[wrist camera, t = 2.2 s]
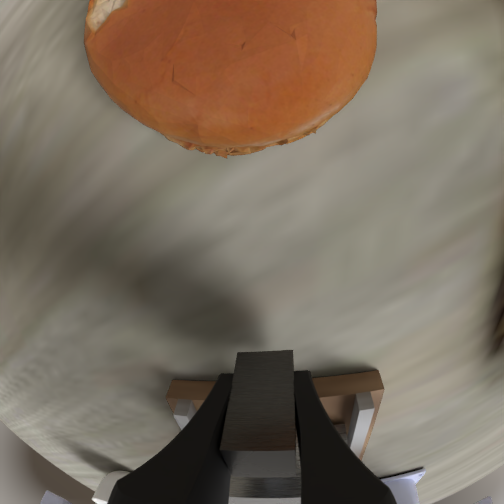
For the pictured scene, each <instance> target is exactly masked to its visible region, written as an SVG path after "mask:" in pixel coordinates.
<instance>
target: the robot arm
mask: <svg viewBox="0 0 504 504" xmlns="http://www.w3.org/2000/svg"><path fill="white" fill-rule="evenodd" d="M233 375H234V374H220V375H219V377H218V379H217V381H216V383H215V384H214V386H213V388H212V389H211V391H210V393H209V394H208V396H207V397H206V399H205V400H204V402H203V403H202V405H201V406H200V408H199V409H198V411H197V412H196V413H195V415H194V416H193V417H192V418H191V420H190V421H189V422H188V423H187V425H186V426H185V427H184V428H183V429H182V431H181V432H180V433H179V434H178V435H177V436H176V437H175V438H174V439H173V440H172V441H171V442H170V443H169V444H168V445H167V446H166V447H165V448H163V449H162V450H161V451H160V452H159V453H158V454H157V455H155V456H154V457H153V458H151V459H150V460H149V461H147V462H146V463H145V464H143V465H142V466H140V467H139V468H137V469H136V470H134V471H132V472H131V473H129V474H127V475H126V476H124V477H122V478H120V479H118V480H117V481H116V483H115V485H114V487H113V489H112V492H111V494H110V497H109V500H108V503H107V504H228V503H229V490H230V479H231V473H230V471H229V469H228V466H227V464H226V462H225V460H224V458H223V456H222V454H221V452H220V446H221V440H222V435H223V429H224V424H225V418H226V413H227V408H228V402H229V397H230V391H231V388H232V380H233ZM293 382H294V395H295V419H296V432H297V440H298V448H299V457H300V467H301V504H420V503H419V498H418V494H417V489H416V485H415V484H416V483H417V482H418V481H419V480H420V478H421V477H422V476H423V475H424V474H425V472H426V469H421V470H417V471H414V472H410V473H406V474H402V475H398V476H394V477H390V478H385V479H379V478H378V477H376V476H375V475H374V474H373V473H372V472H371V471H370V470H369V469H368V468H367V467H366V466H365V465H364V464H363V463H362V461H361V460H360V459H359V458H358V457H357V456H356V455H355V454H354V452H353V451H352V450H351V449H350V447H349V446H348V445H347V444H346V442H345V441H344V440H343V438H342V437H341V435H340V434H339V432H338V431H337V429H336V428H335V426H334V425H333V423H332V421H331V420H330V418H329V416H328V414H327V412H326V411H325V409H324V407H323V405H322V403H321V401H320V398H319V396H318V394H317V391H316V389H315V386H314V383H313V380H312V377H311V372H310V371H308V370H305V371H294V380H293ZM40 504H72V503H70V502H69V501H67V500H65V499H63V498H61V497H60V496H58V495H55V494H54V493H52V492H50V491H46V492H45V495H44V496H43V499H42V501H41V503H40ZM474 504H493V503H492V499H491V497H490V496H488V497H486V498H484V499H482V500H480V501H478V502H476V503H474Z"/></svg>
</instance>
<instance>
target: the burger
mask: <svg viewBox="0 0 504 504" xmlns="http://www.w3.org/2000/svg"><path fill="white" fill-rule="evenodd" d="M376 15H377V6H376V0H90V2H89V7H88V13H87V17H86V22H85V34H84V45H85V49H86V53H87V57H88V61H89V65H90V68H91V71H92V73H93V74H94V76H95V78H96V79H97V81H98V82H99V83H100V85H101V86H102V87H103V89H104V90H105V91H106V93H107V94H108V95H109V97H110V98H111V99H112V100H113V101H114V102H115V103H116V104H117V105H118V106H119V107H120V108H121V109H122V110H124V111H125V112H126V113H128V114H129V115H131V116H132V117H134V118H135V119H136V120H138V121H139V122H141V123H142V124H143V125H145V126H147V127H150V128H152V129H154V130H156V131H158V132H160V133H161V134H162V135H164V136H165V137H166V138H167V139H168V140H170V141H173V142H175V143H178V144H179V145H181V146H182V147H184V148H186V149H187V150H194V149H197V150H199V151H201V152H205V154H212V153H215V154H216V156H222V157H224V158H227V155H233V156H234V155H245V154H250V153H254V152H257V151H260V150H263V149H265V148H266V147H269V146H274V145H283V144H288V143H291V142H294V141H296V140H299V139H301V138H303V137H305V136H307V135H309V134H310V133H315V134H316V130H317V129H318V128H319V127H321V126H322V125H324V124H325V123H326V122H327V121H328V120H329V119H330V118H331V117H332V116H333V115H335V114H336V113H338V112H339V111H340V110H341V109H342V108H343V107H344V106H345V105H346V104H347V103H348V102H349V101H350V100H352V99H353V97H354V96H355V94H356V93H357V92H358V90H359V89H360V87H361V86H362V84H363V83H364V82H365V80H366V79H367V77H368V75H369V72H370V69H371V66H372V63H373V60H374V56H375V51H376V46H377V25H376V22H375V19H376Z"/></svg>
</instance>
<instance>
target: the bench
mask: <svg viewBox="0 0 504 504" xmlns="http://www.w3.org/2000/svg"><path fill="white" fill-rule="evenodd" d="M312 380H313V383H314V386H315V389H316V391H317V394H318V396H319V398H320V401H321V403H322V405H323V407H324V409H325V411H326V412H327V414H328V416H329V418H330V420H331V421H332V423H333V425H340V424H345V428H346V435H347V442H348V446H349V447H350V449H351V450H352V451H353V452H354V454H355V455H356V456H357V457H358V458H359V459H360V460H362V457H363V455H364V452H365V449H366V446H367V444H368V441H369V438H370V435H371V432H372V429H373V426H374V423H375V420H376V416H377V413H378V410H379V406H380V403H381V400H382V396H383V392H384V386H383V383H382V380H381V377H380V374H379V371H378V370H375V371H369V372H362V373H354V374H346V375H338V376H329V377H318V378H312ZM215 383H216V381H189V380H172V382H171V385H170V387H169V390H168V393H167V395H166V400H167V402H168V404H169V406H170V408H171V410H172V412H173V416H174V418H175V420H176V421H177V423H178V425H179V427H180V429H181V431H182V429H183V428H184V427H185V426H186V425H187V423H188V422H189V421H190V420H191V418H192V417H193V416H194V415H195V413H196V412H197V411H198V409H199V408H200V406H201V405H202V403H203V402H204V400H205V399H206V397H207V396H208V394H209V393H210V391H211V389H212V388H213V386H214V384H215Z"/></svg>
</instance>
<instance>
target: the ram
mask: <svg viewBox="0 0 504 504" xmlns="http://www.w3.org/2000/svg"><path fill="white" fill-rule="evenodd" d="M293 380H294V360H293V350H283V351H264V352H238V353H237V358H236V364H235V369H234V375H233V380H232V388H231V391H230V397H229V402H228V408H227V413H226V418H225V424H224V429H223V435H222V440H221V446H220V452H221V454H222V456H223V458H224V460H225V462H226V464H227V466H228V469H229V471H230V473H231V479H230V490H229V503H228V504H301V467H300V457H299V448H298V440H297V432H296V419H295V395H294V382H293ZM334 426H335V428H336V429H337V431H338V432H339V434H340V435H341V437H342V438H343V440H344V441H345V442H346V444H347V445H348V442H347V435H346V428H345V424H340V425H334Z"/></svg>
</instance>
